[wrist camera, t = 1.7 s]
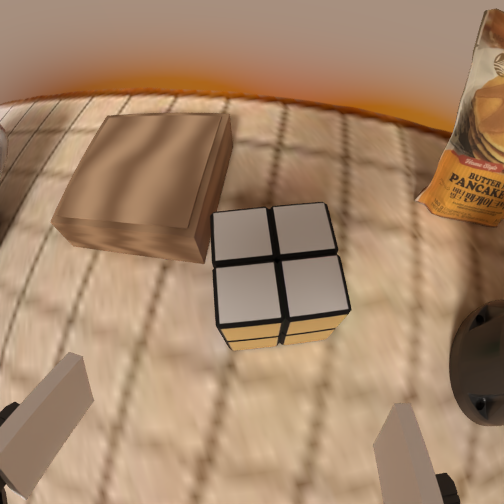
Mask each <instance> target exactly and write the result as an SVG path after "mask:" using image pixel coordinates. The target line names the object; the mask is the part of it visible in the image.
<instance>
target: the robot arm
mask: <svg viewBox="0 0 504 504" xmlns="http://www.w3.org/2000/svg"><path fill="white" fill-rule="evenodd" d="M450 379H451V385H452V390H453V393H454V396H455V399H456V401H457V403H458V405H459V407H460V408H461V410H462V411H463V413H464V414H465V415H466V416H467V417H468V418H469V419H470V420H472V421H473V422H475V423H477V424H480V425H483V426H501V425H504V300H495V301H492V302H489V303H487V304H485V305H483V306H482V307H480V308H478V309H477V310H475V311H474V312H472V313H471V314H470V315H469V316H468V317H467V318H466V319H465V320H464V322H463V323H462V325H461V326H460V328H459V330H458V332H457V334H456V337H455V339H454V342H453V346H452V351H451V357H450ZM93 401H94V399H93V395H92V392H91V388H90V384H89V380H88V377H87V373H86V369H85V364H84V360H83V356H80V355H77V354H74V353H71V352H69V353H68V354H67V355H66V356H65V357H64V358H63V359H62V360H61V361H60V362H59V363H58V364H57V365H56V366H55V367H54V368H53V369H52V370H51V371H50V372H49V374H48V375H47V376H46V377H45V378H44V379H43V380H42V381H41V382H40V383H39V384H38V385H37V386H36V388H35V389H34V390H33V391H32V392H31V393H30V394H29V395H28V396H27V397H26V398H25V400H24V401H23V402H22V403H21V404H18V403H16V402H14V403H12V404H10V405H8V406H6V407H5V408H4V409H3V410H2V411H1V412H0V504H8V503H7V497H6V492H5V489H4V486H5V485H6V484H7V486H8V487H9V488H10V489H11V490H12V491H13V492H14V493H16V494H17V495H19V496H20V497H22V498H24V499H25V500H27V499H28V497H29V496H30V494H31V493H32V491H33V489H34V488H35V486H36V485H37V483H38V482H39V480H40V479H41V477H42V476H43V474H44V473H45V471H46V470H47V468H48V467H49V465H50V464H51V462H52V461H53V459H54V458H55V456H56V455H57V453H58V452H59V450H60V449H61V447H62V446H63V444H64V443H65V442H66V440H67V439H68V437H69V436H70V434H71V433H72V431H73V430H74V428H75V427H76V426H77V424H78V423H79V421H80V420H81V418H82V417H83V416H84V414H85V413H86V411H87V410H88V408H89V407H90V406H91V404H92V403H93ZM373 447H374V452H375V457H376V463H377V468H378V473H379V479H380V484H381V490H382V496H383V502H384V504H460V499H459V496H458V495H457V490H456V486H455V483H454V481H453V480H452V479H451V478H450V477H449V475H448V474H447V473H442V474H436V475H435V473H434V470H433V466H432V463H431V460H430V457H429V454H428V451H427V448H426V445H425V442H424V439H423V437H422V434H421V431H420V428H419V425H418V422H417V420H416V417H415V414H414V412H413V409H412V406H411V404H410V403H394V405H393V407H392V409H391V411H390V413H389V415H388V417H387V419H386V421H385V423H384V425H383V427H382V429H381V431H380V433H379V435H378V437H377V438H376V440H375V442H374V444H373Z"/></svg>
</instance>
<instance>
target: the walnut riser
mask: <svg viewBox="0 0 504 504" xmlns="http://www.w3.org/2000/svg"><path fill="white" fill-rule="evenodd" d="M232 149H233V142H232V133H231V123H230V114H219V113H150V114H127V115H111V116H107V117H106V118H105V120H104V122H103V123H102V125H101V126H100V128H99V130H98V131H97V133H96V135H95V136H94V138H93V140H92V141H91V143H90V145H89V147H88V148H87V150H86V152H85V154H84V155H83V157H82V159H81V161H80V163H79V165H78V166H77V168H76V170H75V172H74V174H73V176H72V178H71V180H70V182H69V184H68V186H67V188H66V190H65V192H64V194H63V196H62V198H61V200H60V202H59V204H58V206H57V208H56V211H55V213H54V215H53V217H52V219H51V223H52V224H53V225H54V227H55V228H56V229H57V230H58V231H59V232H60V233H61V234H62V235H63V236H64V237H65V238H66V239H67V240H68V241H69V242H70V243H71V244H72V245H73V246H76V247H83V248H90V249H97V250H104V251H111V252H118V253H125V254H133V255H140V256H147V257H155V258H162V259H170V260H178V261H185V262H193V263H201V264H204V263H205V259H206V254H207V250H208V246H209V241H210V237H211V229H210V215H211V214H212V213H213V212H217V208H218V204H219V200H220V195H221V191H222V187H223V183H224V180H225V176H226V172H227V168H228V164H229V160H230V156H231V152H232Z"/></svg>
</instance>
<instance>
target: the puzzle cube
mask: <svg viewBox="0 0 504 504" xmlns="http://www.w3.org/2000/svg"><path fill="white" fill-rule="evenodd" d="M210 229H211V251H212V264H213V267H214V269H213V270H212V271H213V288H214V305H215V320H216V327H217V328H218V330H219V332H220V333H221V335H222V337H223V338H224V340H225V342H226V344H227V345H228V347H229V348H230V349H231V350H232V351H235V350H245V349H255V348H264V347H273V346H277V345H278V344H279V342H280V343H281V344H282V345H289V344H296V343H304V342H311V341H318V340H324V339H327V338H328V336H329V335H330V334H331V333H332V332H333V331H334V330H335V328H336V327H337V326H338V325H339V324H340V323H341V322H342V321H343V319H344V318H345V317H346V316H347V315H348V314H349V312H350V311H351V305H350V300H349V295H348V290H347V285H346V281H345V276H344V272H343V267H342V263H341V259H340V256H338V255H337V252H338V246H337V242H336V238H335V234H334V230H333V226H332V222H331V218H330V214H329V210H328V207H327V204H325V203H324V202H315V203H303V204H291V205H280V206H272V207H271V208H270V210H269V209H268V208H266V207H257V208H248V209H238V210H229V211H220V212H213V213H212V214H211V215H210Z"/></svg>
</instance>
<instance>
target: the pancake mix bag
mask: <svg viewBox="0 0 504 504" xmlns="http://www.w3.org/2000/svg"><path fill="white" fill-rule="evenodd" d="M415 201H417V202H420V203H422V204H425V206H426V207H427V208H428V209H429V211H430V212H431V213H432V214H435V215H437V216H440V217H444V218H449V219H454V220H459V221H464V222H470V223H476V224H480V225H484V226H489V227H497V225H498V224H499V222H500V221H501V219H504V12H503V11H501V10H499V9H492V10H486V11H485V12H484V15H483V19H482V22H481V25H480V28H479V32H478V36H477V40H476V43H475V47H474V50H473V57H472V65H471V68H470V72H469V75H468V78H467V82H466V85H465V88H464V91H463V94H462V97H461V100H460V105H459V108H458V112H457V118H456V123H455V126H454V130H453V133H452V136H451V138H450V140H449V142H448V144H447V146H446V148H445V149H444V151H443V153H442V155H441V157H440V160H439V163H438V167H437V170H436V172H435V175H434V177H433V179H432V181H431V183H430V185H429V186H427V187H426V188H425V189H423V190H422V192H421V193H420V194H419V195H418V197H417V198H416V199H415Z"/></svg>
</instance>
